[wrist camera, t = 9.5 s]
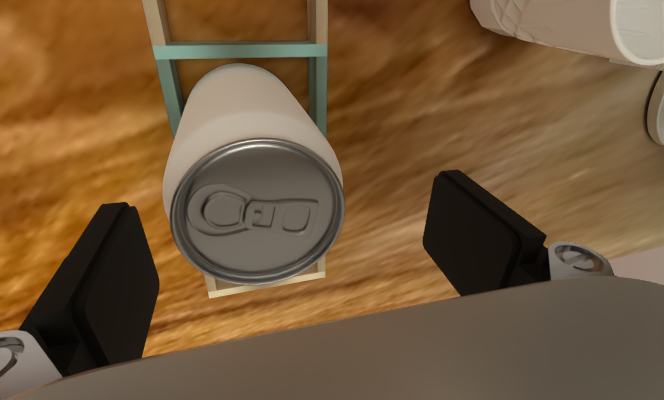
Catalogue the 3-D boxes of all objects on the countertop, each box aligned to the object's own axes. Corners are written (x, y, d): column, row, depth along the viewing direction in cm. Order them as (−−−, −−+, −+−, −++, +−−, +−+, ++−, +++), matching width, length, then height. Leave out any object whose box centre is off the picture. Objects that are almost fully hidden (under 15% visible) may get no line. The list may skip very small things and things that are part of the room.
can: (191, 48, 18) (156, 102, 8) (304, 75, 21) (382, 143, 11) (183, 157, 21) (149, 295, 11) (284, 171, 24) (331, 295, 14)
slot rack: (316, -147, 16) (329, -166, 14) (318, 259, 28) (325, 277, 26) (112, -174, 14) (96, -200, 12) (210, 277, 26) (209, 298, 24)
